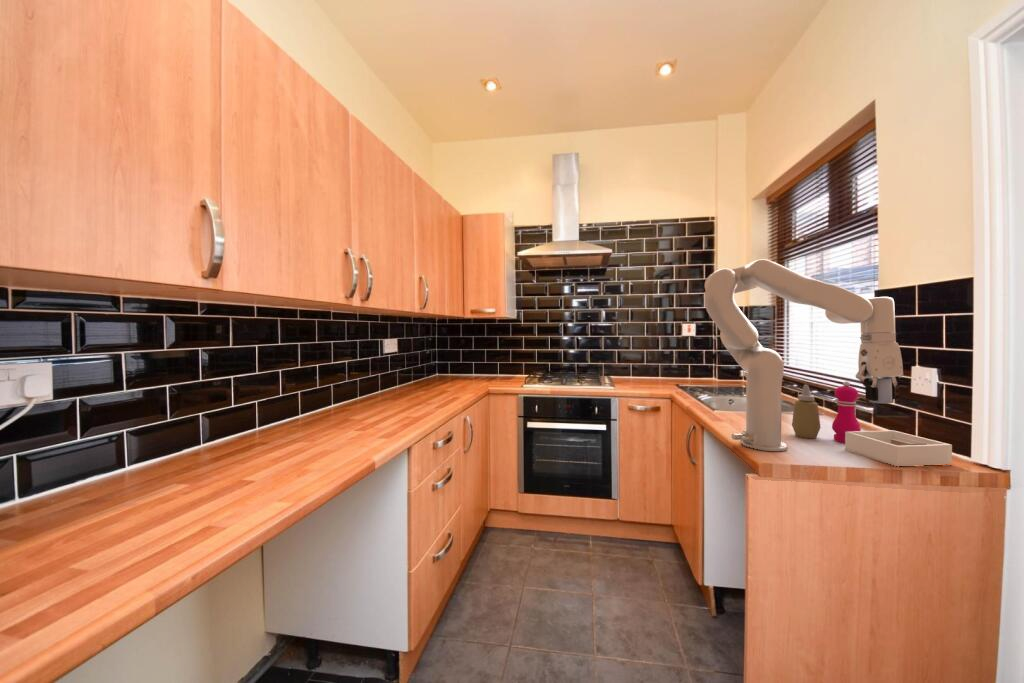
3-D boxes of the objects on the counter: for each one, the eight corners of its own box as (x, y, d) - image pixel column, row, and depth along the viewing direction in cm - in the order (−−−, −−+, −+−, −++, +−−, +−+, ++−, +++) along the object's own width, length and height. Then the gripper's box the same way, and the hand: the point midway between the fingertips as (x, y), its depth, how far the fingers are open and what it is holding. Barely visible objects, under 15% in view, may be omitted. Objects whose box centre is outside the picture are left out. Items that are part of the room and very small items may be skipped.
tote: (897, 467, 105) (897, 446, 105) (845, 449, 121) (845, 431, 121) (951, 465, 106) (952, 444, 106) (892, 447, 122) (892, 430, 121)
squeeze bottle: (826, 438, 133) (827, 386, 133) (809, 440, 131) (809, 387, 130) (802, 432, 141) (803, 383, 140) (786, 434, 139) (786, 384, 138)
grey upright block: (864, 401, 118) (863, 378, 118) (879, 399, 119) (878, 377, 119) (882, 403, 113) (881, 380, 113) (897, 402, 114) (896, 378, 114)
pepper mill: (826, 439, 132) (827, 380, 131) (841, 437, 134) (842, 379, 133) (850, 445, 125) (851, 383, 124) (866, 443, 127) (866, 382, 126)
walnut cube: (909, 462, 107) (909, 444, 107) (890, 456, 112) (890, 439, 112) (926, 461, 108) (926, 443, 107) (906, 455, 113) (907, 438, 112)
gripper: (865, 340, 111) (867, 403, 112) (917, 337, 113) (920, 399, 113) (840, 340, 119) (842, 399, 119) (890, 337, 121) (892, 395, 121)
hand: (880, 398), depth 116 cm, fingers closed on grey upright block, 5 cm apart
